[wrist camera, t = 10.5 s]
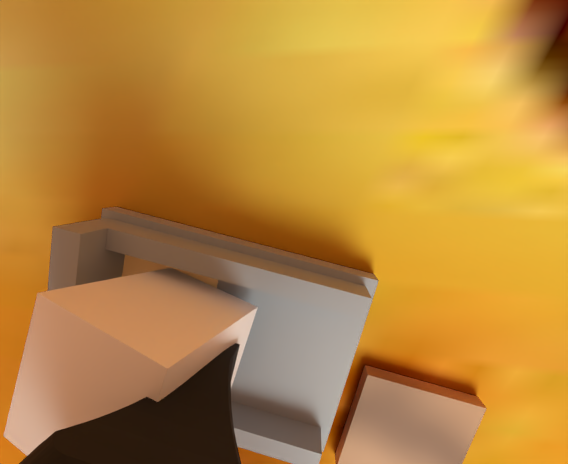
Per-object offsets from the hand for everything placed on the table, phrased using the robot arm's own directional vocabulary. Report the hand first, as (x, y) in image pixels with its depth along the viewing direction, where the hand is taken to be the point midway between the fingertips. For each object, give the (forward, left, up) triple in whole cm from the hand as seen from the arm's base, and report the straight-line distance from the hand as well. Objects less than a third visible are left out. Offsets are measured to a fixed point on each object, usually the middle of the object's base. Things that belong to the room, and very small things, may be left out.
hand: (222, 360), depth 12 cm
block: (0, +2, -2) cm, 3 cm away
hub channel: (-1, +1, -4) cm, 4 cm away
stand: (-4, -10, -4) cm, 11 cm away
